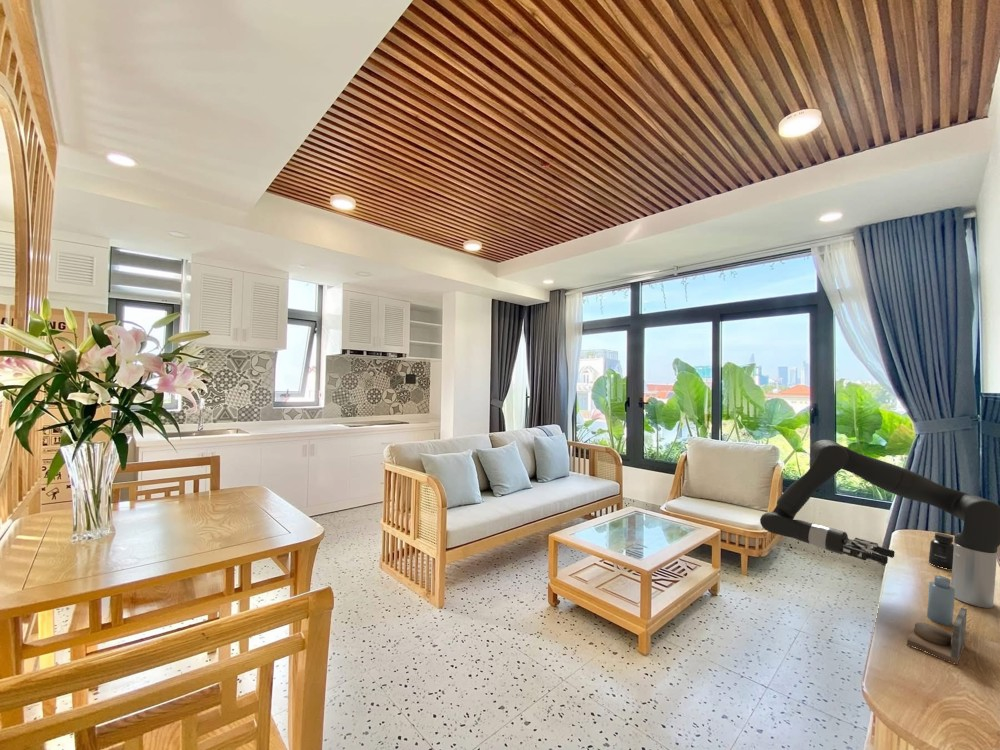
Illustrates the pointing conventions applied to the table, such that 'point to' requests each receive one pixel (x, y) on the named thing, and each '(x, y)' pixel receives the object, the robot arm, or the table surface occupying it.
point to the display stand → (940, 639)
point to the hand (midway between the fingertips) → (890, 557)
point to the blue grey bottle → (941, 601)
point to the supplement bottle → (941, 551)
